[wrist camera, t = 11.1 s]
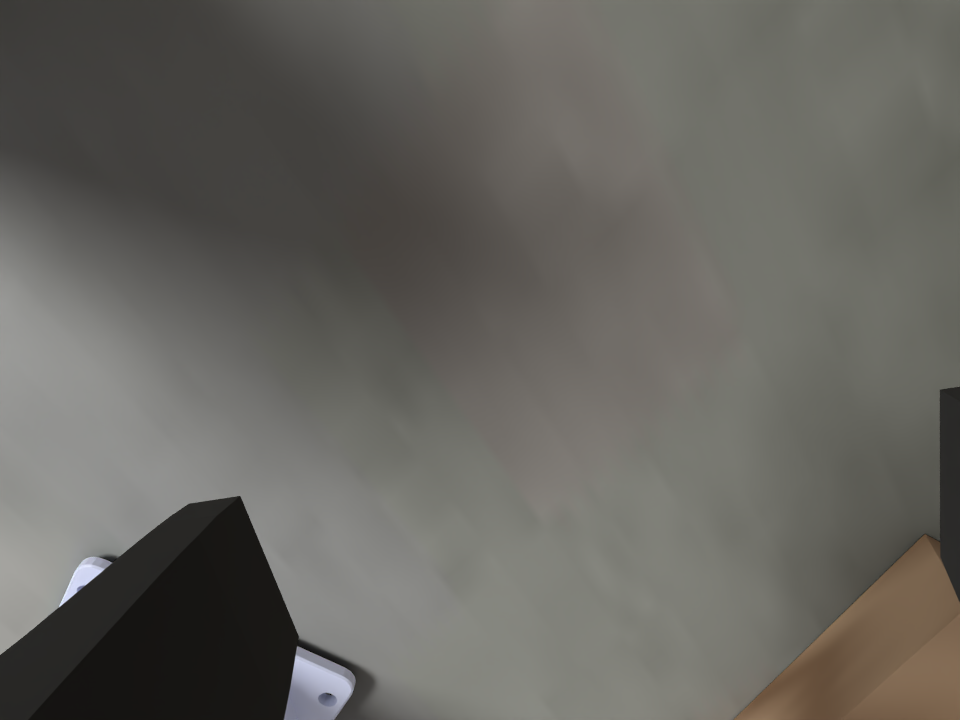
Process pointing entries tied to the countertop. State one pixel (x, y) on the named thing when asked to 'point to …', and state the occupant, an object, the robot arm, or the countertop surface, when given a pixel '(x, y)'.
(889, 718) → the walnut base
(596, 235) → the countertop surface
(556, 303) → the countertop surface
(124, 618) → the robot arm
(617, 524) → the countertop surface
